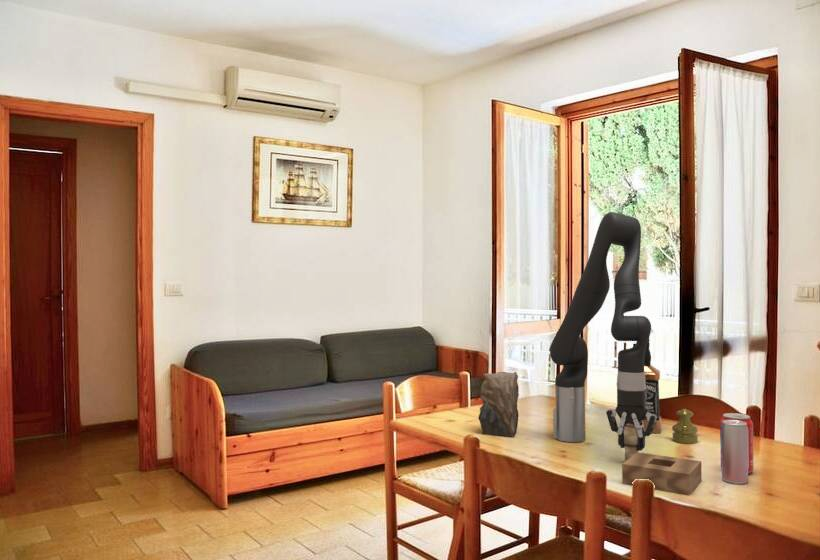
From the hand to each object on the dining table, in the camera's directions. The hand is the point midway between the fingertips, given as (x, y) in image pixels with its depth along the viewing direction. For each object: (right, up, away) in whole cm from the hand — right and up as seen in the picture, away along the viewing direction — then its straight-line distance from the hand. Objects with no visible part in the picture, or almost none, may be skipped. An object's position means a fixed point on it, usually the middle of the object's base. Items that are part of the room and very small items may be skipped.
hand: (631, 448), depth 182 cm
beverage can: (+21, -4, -16) cm, 27 cm away
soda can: (+25, -4, -8) cm, 27 cm away
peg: (0, -4, 0) cm, 4 cm away
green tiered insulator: (+25, -4, +24) cm, 35 cm away
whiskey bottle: (+18, -4, +40) cm, 44 cm away
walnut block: (+2, -4, -16) cm, 17 cm away
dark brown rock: (-31, -5, +37) cm, 49 cm away
